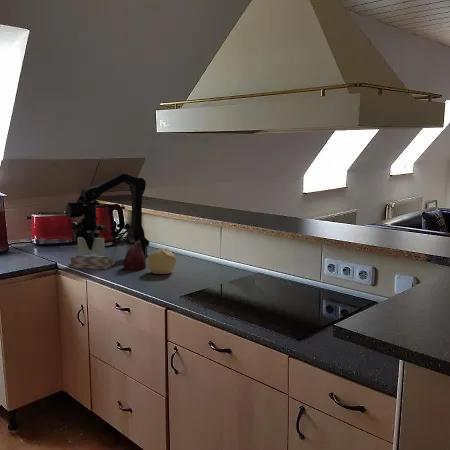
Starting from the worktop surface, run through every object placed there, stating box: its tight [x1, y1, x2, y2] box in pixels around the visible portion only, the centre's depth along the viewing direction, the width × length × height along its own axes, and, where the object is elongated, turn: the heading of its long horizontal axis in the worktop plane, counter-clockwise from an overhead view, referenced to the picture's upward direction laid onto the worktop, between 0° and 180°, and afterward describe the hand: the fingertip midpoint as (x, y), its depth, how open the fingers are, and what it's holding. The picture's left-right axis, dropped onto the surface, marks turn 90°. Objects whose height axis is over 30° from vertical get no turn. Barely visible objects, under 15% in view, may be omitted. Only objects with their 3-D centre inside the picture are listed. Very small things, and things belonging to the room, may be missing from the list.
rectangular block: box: [76, 237, 106, 255], centre depth 222 cm, size 12×2×7 cm, turn 79°
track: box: [68, 254, 116, 270], centre depth 223 cm, size 18×10×4 cm, turn 79°
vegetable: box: [123, 240, 147, 272], centre depth 218 cm, size 10×10×15 cm
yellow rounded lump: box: [147, 248, 177, 275], centre depth 210 cm, size 11×12×11 cm
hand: (91, 249), depth 222 cm, fingers closed on rectangular block, 2 cm apart
